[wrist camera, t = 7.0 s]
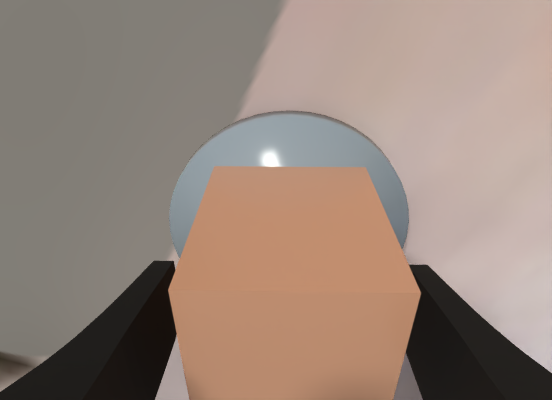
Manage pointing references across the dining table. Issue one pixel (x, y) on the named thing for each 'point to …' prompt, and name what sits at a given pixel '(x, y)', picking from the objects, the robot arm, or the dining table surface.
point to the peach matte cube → (292, 288)
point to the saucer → (286, 161)
